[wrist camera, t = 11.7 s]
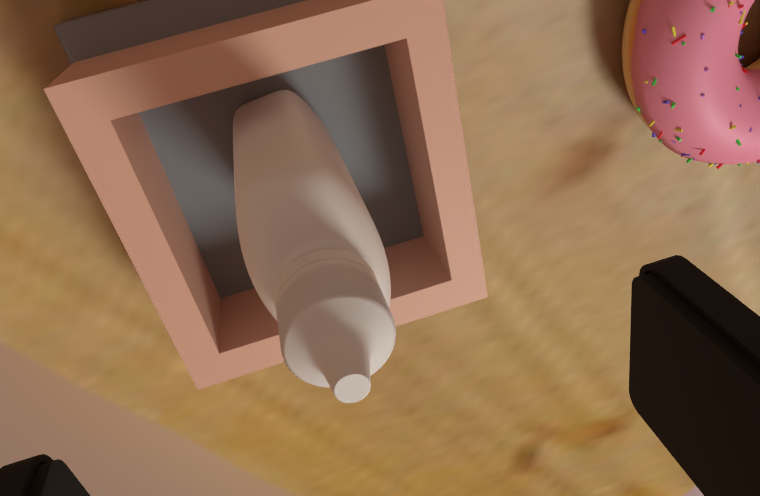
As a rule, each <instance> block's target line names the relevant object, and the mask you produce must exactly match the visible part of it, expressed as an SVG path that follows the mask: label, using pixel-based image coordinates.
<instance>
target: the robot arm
mask: <svg viewBox="0 0 760 496" xmlns="http://www.w3.org/2000/svg"><path fill="white" fill-rule="evenodd" d="M629 394H630V398H631V401H632V403H633V405H634V407H635V409H636V410H637V412H638V413H639V414H640V416H641V417H642V418H643V419H644V421H645V422H646V423H647V424H648V426H649V427H650V428H651V429H652V431H653V432H654V433H655V434H656V436H657V437H658V438H659V440H660V441H661V442H662V443H663V445H664V446H665V447H666V448H667V450H668V451H669V452H670V453H671V455H672V456H673V457H674V458H675V460H676V461H677V462H678V463H679V465H680V466H681V467H682V468H683V470H684V471H685V472H686V473H687V475H688V476H689V477H690V478H691V480H692V481H693V482H694V483H695V485H696V486H697V487H698V488H699V490H700V491H701V492H702V493H703V495H704V496H760V316H758V315H757V314H756V313H754V312H753V311H752V310H751V309H749V308H748V307H747V306H746V305H744V304H743V303H742V302H740V301H739V300H738V299H737V298H735V297H734V296H733V295H732V294H730V293H729V292H728V291H726V290H725V289H724V288H723V287H721V286H720V285H719V284H718V283H716V282H715V281H714V280H712V279H711V278H710V277H709V276H707V275H706V274H705V273H704V272H702V271H701V270H700V269H698V268H697V267H696V266H695V265H693V264H692V263H691V262H690V261H688V260H687V259H685V258H684V257H682V256H678V255H675V256H672V257H669V258H666V259H662V260H659V261H656V262H653V263H650V264H646V265H644V266H642V268H641V269H640V273H639V276H638V277H635V278H634V279H633V281H632V299H631V336H630V374H629ZM0 496H90V495H89V494H88V492H87V491H86V490H85V488H84V487H83V486H82V484H81V483H80V482H79V481H78V479H77V478H76V477H75V476H74V474H73V473H72V472H71V470H70V469H69V468H68V466H67V465H66V464H65V463H64V462H63V461H62V460H54V461H53V460H52V459H51V458H50V457H49V456H47V455H44V454H42V455H38V456H34V457H31V458H28V459H25V460H22V461H18V462H15V463H12V464H9V465H6V466H3V467H2V468H0Z"/></svg>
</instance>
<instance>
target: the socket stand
mask: <svg viewBox="0 0 760 496" xmlns="http://www.w3.org/2000/svg"><path fill="white" fill-rule="evenodd" d="M53 28H54V30H55V32H56V34H57V36H58V38H59V40H60V42H61V44H62V46H63V49H64V51H65V53H66V55H67V57H68V59H69V61H70V63H71V65H70V66H69V67H68V68H67V69H66V70H65V71H63V72H62V73H61V74H60V75H59V76H58V77H57V78H55V79H54V80H53V81H52V82H51V83H50V84H49V85H47V86H46V87H45V88H44V91H45V93H46V95H47V97H48V99H49V101H50V103H51V105H52V107H53V109H54V111H55V113H56V115H57V117H58V118H59V120H60V122H61V124H62V126H63V128H64V130H65V132H66V134H67V136H68V138H69V140H70V142H71V144H72V146H73V148H74V150H75V152H76V154H77V156H78V157H79V159H80V161H81V163H82V165H83V167H84V169H85V171H86V173H87V175H88V177H89V179H90V181H91V183H92V185H93V187H94V189H95V191H96V193H97V195H98V196H99V198H100V200H101V202H102V204H103V206H104V208H105V210H106V212H107V214H108V216H109V218H110V220H111V222H112V224H113V226H114V228H115V230H116V232H117V234H118V235H119V237H120V239H121V241H122V243H123V245H124V247H125V249H126V251H127V253H128V255H129V257H130V259H131V261H132V263H133V265H134V267H135V269H136V271H137V273H138V274H139V276H140V278H141V280H142V282H143V284H144V286H145V288H146V290H147V292H148V294H149V296H150V298H151V300H152V302H153V304H154V306H155V308H156V310H157V312H158V313H159V315H160V317H161V319H162V321H163V323H164V325H165V327H166V329H167V331H168V333H169V335H170V337H171V339H172V341H173V343H174V345H175V347H176V349H177V351H178V352H179V354H180V356H181V358H182V360H183V362H184V364H185V366H186V368H187V370H188V372H189V374H190V376H191V378H192V380H193V382H194V384H195V386H196V388H197V390H199V389H202V388H205V387H208V386H211V385H215V384H218V383H221V382H224V381H227V380H230V379H233V378H236V377H240V376H243V375H246V374H249V373H252V372H255V371H258V370H261V369H265V368H268V367H271V366H274V365H277V364H280V363H283V362H284V358H283V357H282V352H281V347H280V339H279V331H278V323H277V321H276V319H275V318H274V317H273V316H272V315H271V313H270V312H269V311H268V309H267V308H266V307H265V305H264V303H263V302H262V300H261V299H260V297H259V295H258V293H257V291H256V289H255V287H254V285H253V283H252V281H251V278H250V276H249V274H248V271H247V268H246V265H245V261H244V258H243V254H242V250H241V246H240V240H239V234H238V228H237V220H236V206H235V190H234V161H233V118H234V115H235V112H236V110H237V109H239V108H240V107H241V106H242V105H244V104H246V103H249V102H251V101H253V100H256V99H258V98H261V97H263V96H265V95H268V94H271V93H273V92H276V91H279V90H289V91H292V92H294V93H296V94H297V95H298V96H299V97H301V98H302V99H303V100H304V101H305V102H306V103H307V104H308V105H309V106H310V107H311V109H312V110H313V111H314V112H315V113H316V115H317V116H318V117H319V118H320V120H321V121H322V123H323V124H324V125H325V127H326V128H327V130H328V132H329V134H330V135H331V137H332V139H333V141H334V143H335V145H336V147H337V149H338V151H339V153H340V155H341V157H342V159H343V161H344V163H345V165H346V167H347V169H348V171H349V173H350V175H351V177H352V179H353V181H354V183H355V185H356V187H357V189H358V191H359V193H360V195H361V197H362V199H363V201H364V204H365V206H366V208H367V210H368V212H369V214H370V216H371V218H372V220H373V222H374V224H375V227H376V229H377V231H378V234H379V236H380V238H381V241H382V244H383V247H384V250H385V254H386V257H387V261H388V266H389V272H390V281H391V300H390V312H391V314H392V316H393V319H394V322H395V326H399V325H402V324H405V323H408V322H411V321H415V320H418V319H421V318H424V317H427V316H430V315H433V314H436V313H440V312H443V311H446V310H449V309H452V308H455V307H458V306H461V305H465V304H468V303H471V302H474V301H477V300H480V299H483V298H486V297H488V295H487V289H486V282H485V275H484V269H483V262H482V256H481V249H480V242H479V236H478V229H477V222H476V216H475V209H474V203H473V196H472V189H471V183H470V176H469V170H468V163H467V156H466V150H465V143H464V136H463V130H462V123H461V117H460V110H459V103H458V97H457V90H456V83H455V77H454V70H453V64H452V57H451V50H450V44H449V37H448V31H447V24H446V17H445V11H444V4H443V0H144V1H140V2H136V3H132V4H128V5H125V6H121V7H117V8H113V9H109V10H105V11H102V12H98V13H94V14H90V15H86V16H82V17H79V18H75V19H71V20H67V21H63V22H60V23H59V24H57V25H55V26H53Z"/></svg>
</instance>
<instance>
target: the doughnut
mask: <svg viewBox="0 0 760 496" xmlns="http://www.w3.org/2000/svg"><path fill="white" fill-rule="evenodd" d="M754 1H755V0H630V3H629V6H628V10H627V14H626V19H625V24H624V30H623V39H622V65H623V73H624V79H625V83H626V87H627V91H628V94H629V97H630V99H631V102H632V104H633V106H634V108H635V110H636V111H637V113H638V115H639V116H640V118H641V119H642V120H643V122H644V123H645V124H646V125H647V126H648V127H649V128H650V129H651V130H652V132H653V134H652V137H655V136H656V137H657V138H658V139H659V142H660V143H661V142H662V143H663V144H664V145H665V146H666V147H667V148H668V149H670V150H672V151H673V152H675V153H677V154H679V155H681V157H686V158H689V159H688V160H687V161H686V162H687V163H689V162H690V161H691V160H693V161H694V160H696V161H701V162H707V163H709V165H708V167H711V166H712V165H714V164H719V165H718V166H717V167H716V168H717V169H719V168H720V167H721V166H722V165H723V164H737V165H739V166H740V165H741V164H743V163H746V164H749V163H752V162H757V163H760V58H759V59H758V60H756V61H755V62H754V63H752V64H751V65H749V66H747V67H745V68H744V67H742V65H743V64H740V62H739V59H743V58H744V56H741V55H739V54H738V43H739V37H740V34H742V33H743V31H741V29H743V28H744V27H745V26H746V25H748V22H745V23H744V20H745V18H746V16H747V13H748V11H749V9H750V7H751V6H752V4H753V2H754Z"/></svg>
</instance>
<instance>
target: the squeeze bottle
mask: <svg viewBox="0 0 760 496" xmlns="http://www.w3.org/2000/svg"><path fill="white" fill-rule="evenodd" d="M233 161H234V190H235V206H236V220H237V228H238V234H239V240H240V246H241V250H242V254H243V258H244V261H245V265H246V268H247V271H248V274H249V276H250V278H251V281H252V283H253V285H254V287H255V289H256V291H257V293H258V295H259V297H260V299H261V300H262V302H263V303H264V305H265V307H266V308H267V309H268V311H269V312H270V313H271V315H272V316H273V317H274V318H275V319H276V321H277V323H278V331H279V339H280V347H281V352H282V357H283V358H284V362H286V366H288V367H289V370H291V371H292V373H293V374H295V375H296V377H298V378H300V379H301V380H303V381H305V382H307V383H310V384H312V385H315V386H320V387H331V389H332V391H333V393H334V395H335V397H336V398H337V399H338V400H340V401H341V402H344V403H354V402H358V401H360V400H362V399H363V398H365V397H366V396H367V394H368V393H369V391H370V388H371V381H370V376H371V375H372V374H374V373H375V372H376V371H377V370H379V369H380V367H382V366H383V365H384V363H385V362H386V361H387V359H388V358H389V357H390V354H391V353H392V349H393V348H394V344H395V339H396V335H395V334H396V330H395V329H396V326H395V322H394V319H393V316H392V314H391V312H390V300H391V281H390V272H389V266H388V261H387V257H386V254H385V250H384V247H383V244H382V241H381V238H380V236H379V234H378V231H377V229H376V227H375V224H374V222H373V220H372V218H371V216H370V214H369V212H368V210H367V208H366V206H365V204H364V201H363V199H362V197H361V195H360V193H359V191H358V189H357V187H356V185H355V183H354V181H353V179H352V177H351V175H350V173H349V171H348V169H347V167H346V165H345V163H344V161H343V159H342V157H341V155H340V153H339V151H338V149H337V147H336V145H335V143H334V141H333V139H332V137H331V135H330V134H329V132H328V130H327V128H326V127H325V125H324V124H323V123H322V121H321V120H320V118H319V117H318V116H317V115H316V113H315V112H314V111H313V110H312V109H311V107H310V106H309V105H308V104H307V103H306V102H305V101H304V100H303V99H302V98H301V97H299V96H298V95H297V94H296V93H294V92H292V91H289V90H279V91H276V92H273V93H271V94H268V95H265V96H263V97H261V98H258V99H256V100H253V101H251V102H249V103H246V104H244V105H242V106H241V107H240V108H239V109H237V110H236V112H235V115H234V118H233Z"/></svg>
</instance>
